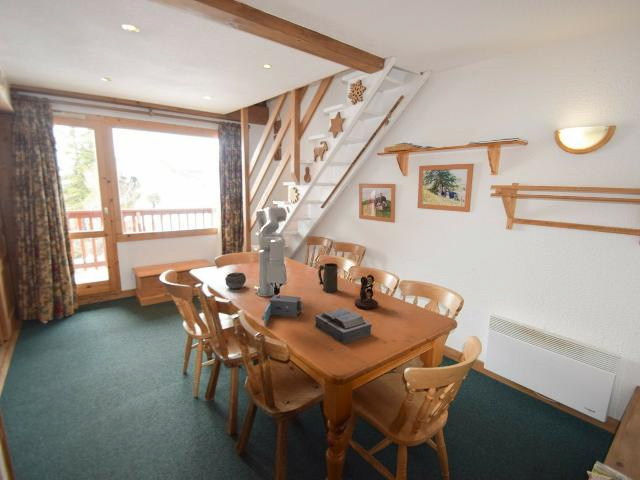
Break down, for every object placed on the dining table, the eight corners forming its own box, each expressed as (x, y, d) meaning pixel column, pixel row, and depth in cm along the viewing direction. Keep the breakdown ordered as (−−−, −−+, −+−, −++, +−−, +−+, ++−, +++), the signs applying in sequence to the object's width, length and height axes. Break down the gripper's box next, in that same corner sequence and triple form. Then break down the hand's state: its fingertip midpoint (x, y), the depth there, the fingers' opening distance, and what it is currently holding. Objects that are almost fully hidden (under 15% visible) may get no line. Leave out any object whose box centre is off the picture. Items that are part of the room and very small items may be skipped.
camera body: (269, 314, 184) (269, 299, 182) (274, 308, 193) (274, 293, 191) (299, 317, 181) (299, 301, 179) (303, 311, 190) (303, 296, 188)
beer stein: (340, 289, 232) (339, 262, 229) (336, 293, 222) (335, 266, 219) (320, 288, 237) (319, 262, 234) (315, 292, 227) (314, 265, 224)
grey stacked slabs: (334, 347, 150) (334, 327, 148) (311, 324, 174) (312, 307, 172) (375, 338, 159) (376, 320, 158) (348, 317, 183) (349, 301, 182)
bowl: (248, 285, 237) (248, 272, 236) (241, 291, 222) (241, 278, 220) (230, 284, 239) (230, 271, 237) (222, 290, 224) (222, 277, 222)
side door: (267, 314, 184) (267, 302, 183) (271, 314, 184) (271, 302, 183) (262, 324, 170) (261, 311, 169) (266, 324, 170) (266, 311, 169)
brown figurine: (363, 300, 212) (365, 271, 208) (382, 306, 202) (384, 276, 198) (349, 305, 202) (351, 275, 198) (368, 312, 191) (370, 280, 188)
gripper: (261, 262, 167) (261, 295, 171) (288, 265, 165) (288, 298, 169) (266, 259, 175) (266, 290, 178) (292, 261, 172) (291, 293, 176)
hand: (276, 294), depth 174 cm, fingers closed
